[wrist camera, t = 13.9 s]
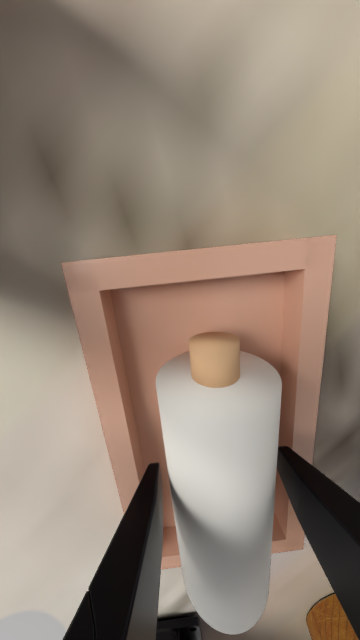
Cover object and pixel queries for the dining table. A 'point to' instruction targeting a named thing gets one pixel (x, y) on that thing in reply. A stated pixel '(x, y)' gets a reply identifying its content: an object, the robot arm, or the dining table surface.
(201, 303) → the tray
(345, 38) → the dining table surface
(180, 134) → the dining table surface
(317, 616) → the disposable coffee cup
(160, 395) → the white bottle
